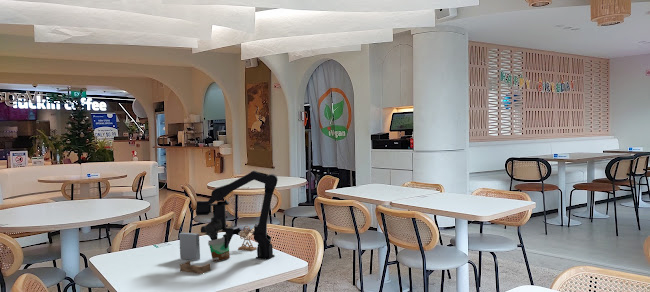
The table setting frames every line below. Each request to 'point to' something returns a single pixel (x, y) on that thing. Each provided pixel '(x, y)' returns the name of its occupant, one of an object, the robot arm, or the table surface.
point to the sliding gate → (189, 246)
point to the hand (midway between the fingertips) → (220, 247)
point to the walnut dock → (194, 268)
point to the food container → (218, 249)
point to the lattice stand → (247, 248)
